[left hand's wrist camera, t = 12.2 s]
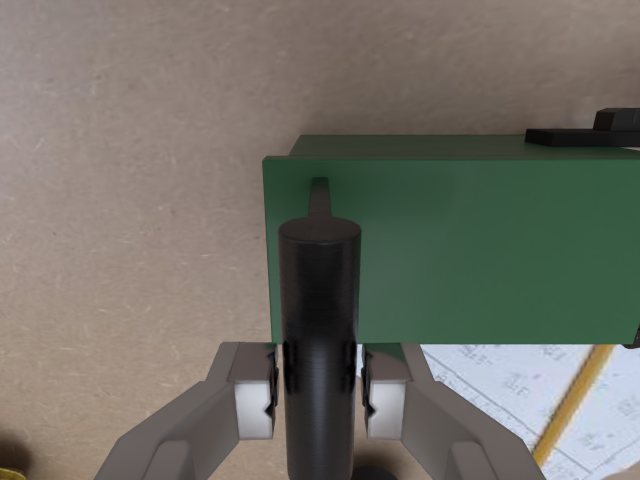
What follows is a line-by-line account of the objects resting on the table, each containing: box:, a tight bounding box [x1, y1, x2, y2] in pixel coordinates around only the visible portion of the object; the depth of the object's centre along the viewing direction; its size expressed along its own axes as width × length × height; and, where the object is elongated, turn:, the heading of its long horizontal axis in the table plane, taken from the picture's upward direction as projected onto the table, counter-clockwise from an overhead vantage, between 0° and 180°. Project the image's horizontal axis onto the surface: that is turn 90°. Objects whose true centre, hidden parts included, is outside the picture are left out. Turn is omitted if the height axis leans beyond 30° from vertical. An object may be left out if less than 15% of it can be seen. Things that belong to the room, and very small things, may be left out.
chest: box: [288, 135, 640, 156], centre depth 23 cm, size 17×9×11 cm, turn 90°
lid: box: [262, 155, 640, 480], centre depth 14 cm, size 18×9×9 cm, turn 90°
